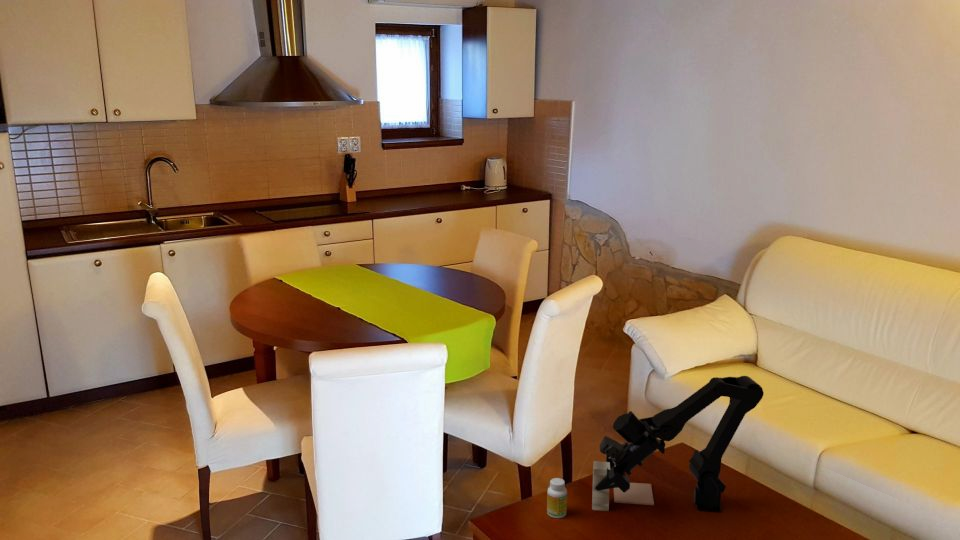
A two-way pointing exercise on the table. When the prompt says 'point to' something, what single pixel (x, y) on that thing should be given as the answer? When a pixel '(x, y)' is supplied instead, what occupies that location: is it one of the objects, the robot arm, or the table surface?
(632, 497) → the plate
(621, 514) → the table surface
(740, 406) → the robot arm
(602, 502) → the birch pillar
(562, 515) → the supplement bottle
